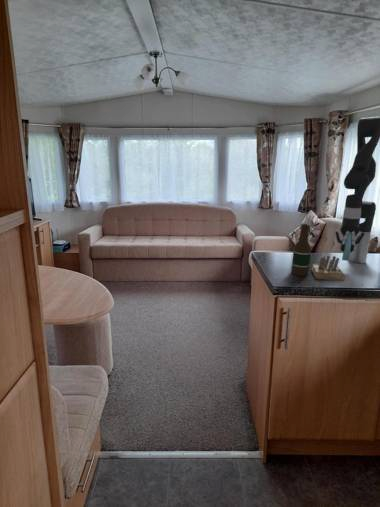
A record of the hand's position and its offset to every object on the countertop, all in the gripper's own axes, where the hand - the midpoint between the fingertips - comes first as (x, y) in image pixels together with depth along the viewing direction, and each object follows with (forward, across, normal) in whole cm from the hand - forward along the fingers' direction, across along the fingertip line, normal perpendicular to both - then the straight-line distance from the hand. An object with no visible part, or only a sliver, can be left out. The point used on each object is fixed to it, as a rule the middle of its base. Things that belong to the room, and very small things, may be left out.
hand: (346, 251), depth 166 cm
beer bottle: (+10, +22, +11) cm, 27 cm away
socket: (+10, +10, +9) cm, 17 cm away
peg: (+4, 0, 0) cm, 4 cm away
